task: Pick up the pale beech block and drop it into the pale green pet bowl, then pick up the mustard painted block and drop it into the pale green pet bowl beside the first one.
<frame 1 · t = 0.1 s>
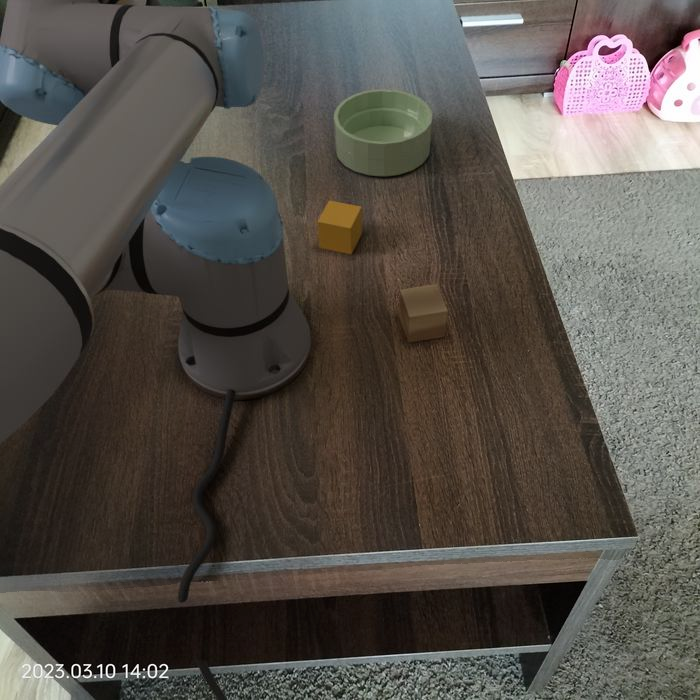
hand: (185, 92, 94), 15 cm above the table, tool tilted 35°, fingers open, 13 cm apart
mustard block: (340, 240, 97), on the table
pale green pet bowl: (382, 150, 110), on the table
beech block: (421, 326, 86), on the table
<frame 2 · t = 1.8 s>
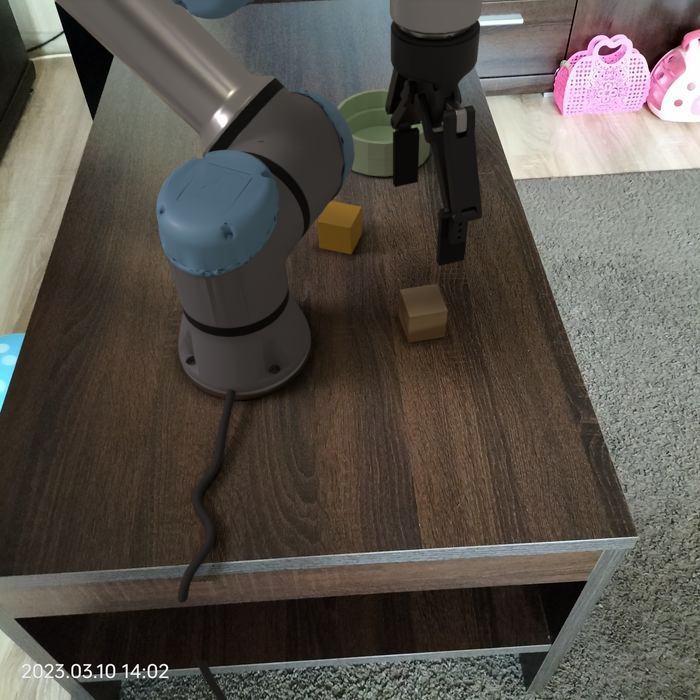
hand: (426, 219, 77), 14 cm above the table, tool pointing down, fingers open, 13 cm apart
nothing on the table moved.
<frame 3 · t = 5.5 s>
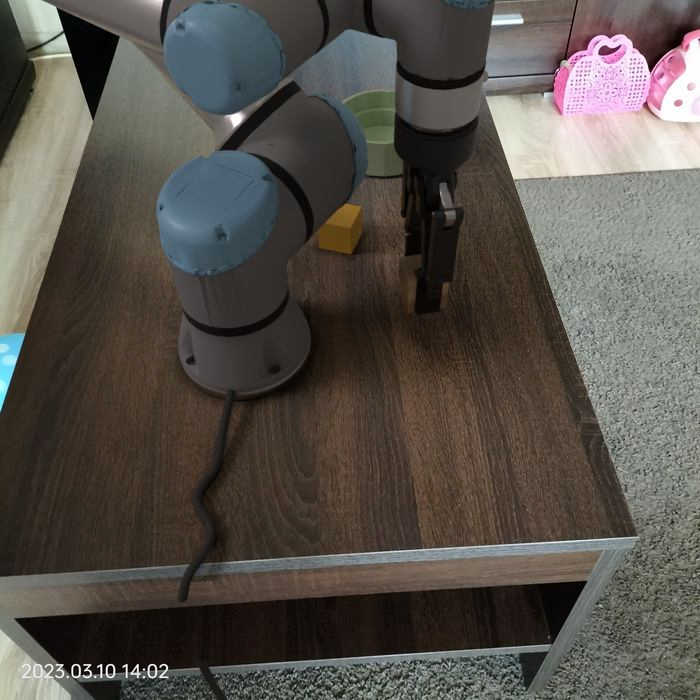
hand: (421, 294, 83), 5 cm above the table, tool pointing down, fingers closed on beech block, 4 cm apart
beech block: (421, 296, 83), point 5 cm above the table, touching gripper
everything else where it was.
when the fingers open (3 cm above the table, at t = 10.9 s): beech block drops 2 cm, resting on pale green pet bowl.
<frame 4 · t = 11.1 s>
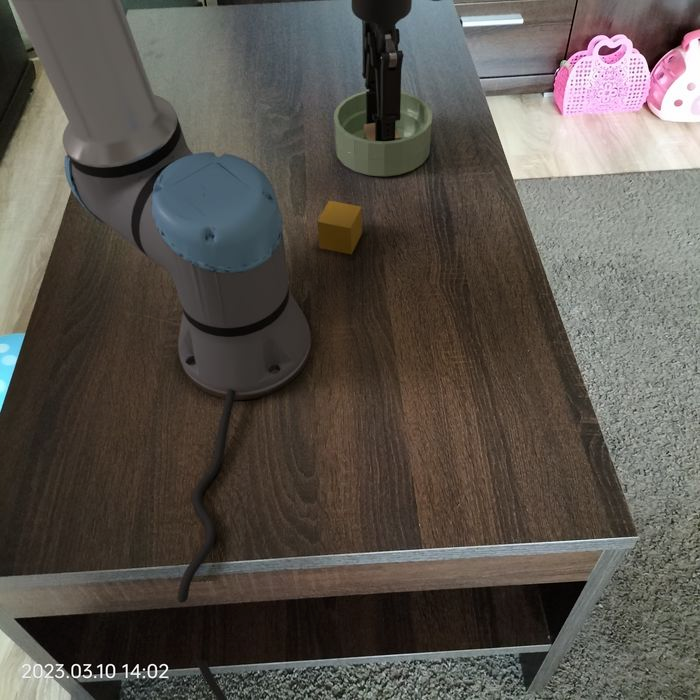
hand: (380, 142, 106), 3 cm above the table, tool pointing down, fingers open, 5 cm apart
beech block: (381, 157, 108), point 1 cm above the table, touching pale green pet bowl
everything else where it was.
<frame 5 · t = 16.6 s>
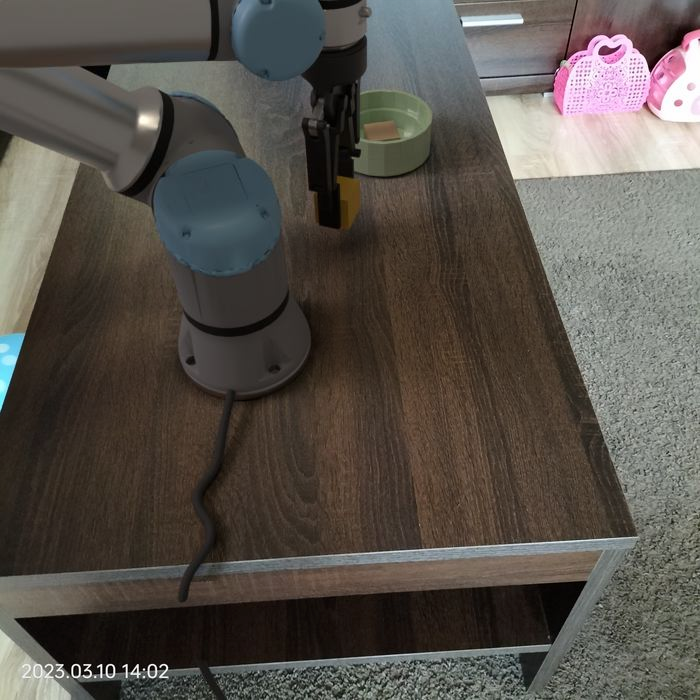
hand: (336, 213, 93), 5 cm above the table, tool pointing down, fingers closed on mustard block, 4 cm apart
mustard block: (338, 215, 93), point 4 cm above the table, touching gripper
everything else where it was.
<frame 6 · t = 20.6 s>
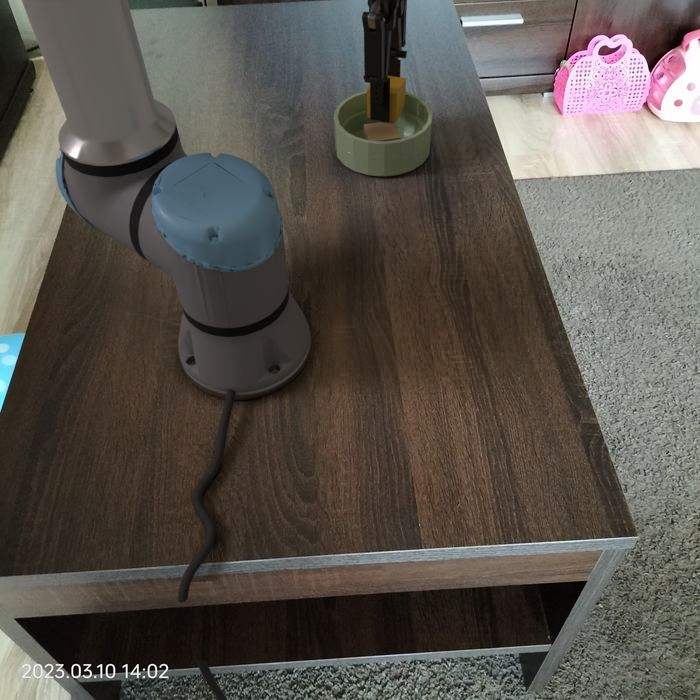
hand: (385, 109, 107), 5 cm above the table, tool pointing down, fingers closed on mustard block, 4 cm apart
mustard block: (386, 111, 108), point 5 cm above the table, touching gripper
everything else where it was.
when the fingers open (6 cm above the table, at t = 24.6 s): mustard block drops 2 cm, resting on beech block, pale green pet bowl.
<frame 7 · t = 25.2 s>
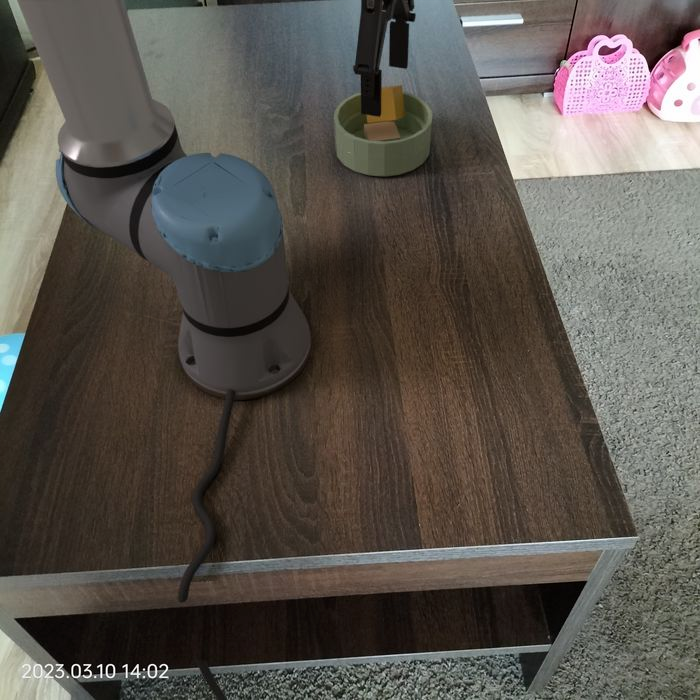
hand: (385, 89, 105), 9 cm above the table, tool pointing down, fingers open, 13 cm apart
mustard block: (386, 119, 108), point 4 cm above the table, tilted 29°, touching beech block, pale green pet bowl
beech block: (381, 157, 108), point 1 cm above the table, touching pale green pet bowl, mustard block
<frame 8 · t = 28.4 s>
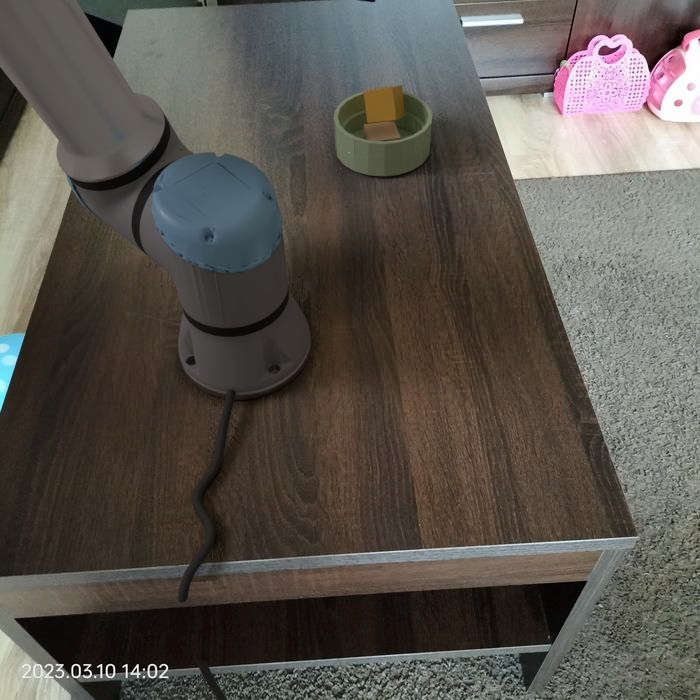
nothing on the table moved.
at the end: beech block inside the target area in the pale green pet bowl (2.5 cm from its centre), point 0.5 cm above the pale green pet bowl's base; mustard block inside the target area in the pale green pet bowl (2.1 cm from its centre), point 3.9 cm above the pale green pet bowl's base; the gripper is holding nothing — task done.
